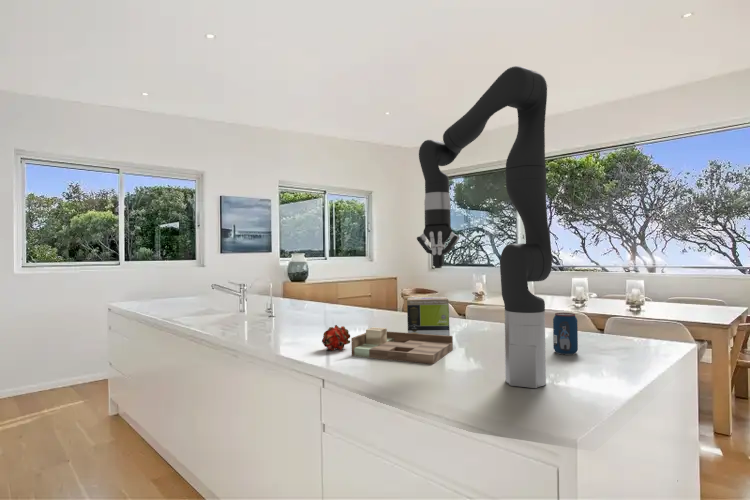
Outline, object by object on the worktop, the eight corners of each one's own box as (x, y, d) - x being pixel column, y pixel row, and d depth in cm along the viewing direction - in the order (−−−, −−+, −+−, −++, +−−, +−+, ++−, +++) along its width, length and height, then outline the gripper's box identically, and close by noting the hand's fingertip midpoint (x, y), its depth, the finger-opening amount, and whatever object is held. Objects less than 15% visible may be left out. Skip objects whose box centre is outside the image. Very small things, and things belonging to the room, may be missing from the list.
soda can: (570, 350, 146) (569, 312, 146) (582, 354, 139) (582, 315, 139) (549, 350, 145) (548, 312, 145) (560, 355, 138) (560, 315, 138)
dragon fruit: (349, 351, 156) (328, 363, 146) (331, 334, 159) (309, 346, 149) (360, 332, 152) (339, 344, 142) (341, 316, 155) (319, 326, 145)
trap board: (433, 363, 130) (433, 344, 130) (351, 356, 141) (351, 338, 141) (452, 349, 148) (452, 332, 148) (379, 343, 159) (378, 327, 159)
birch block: (380, 345, 145) (380, 330, 145) (366, 343, 147) (365, 329, 147) (386, 342, 149) (386, 328, 149) (372, 341, 152) (372, 327, 152)
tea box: (448, 335, 174) (447, 296, 174) (449, 340, 164) (449, 299, 164) (408, 335, 175) (407, 296, 175) (407, 340, 165) (406, 299, 165)
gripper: (411, 209, 135) (412, 268, 135) (456, 206, 129) (457, 268, 129) (420, 211, 142) (421, 267, 142) (462, 208, 136) (463, 267, 136)
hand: (438, 268), depth 135 cm, fingers closed
